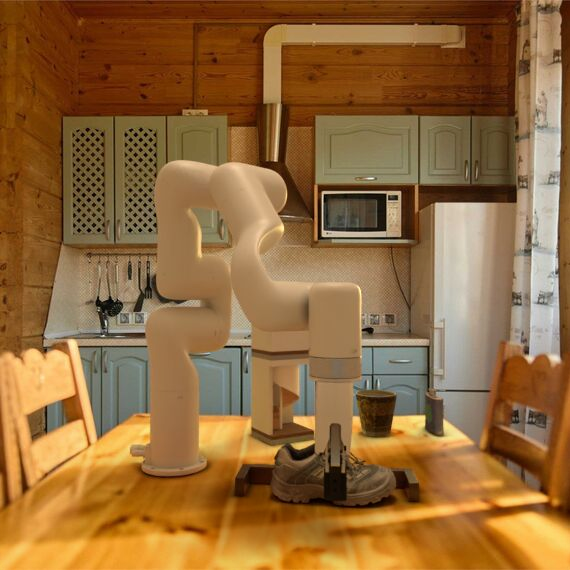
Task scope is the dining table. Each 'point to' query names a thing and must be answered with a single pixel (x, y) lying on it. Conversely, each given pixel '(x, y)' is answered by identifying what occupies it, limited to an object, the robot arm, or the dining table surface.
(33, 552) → the dining table surface
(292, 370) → the cream pedestal stand
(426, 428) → the flask
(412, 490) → the bracket
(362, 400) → the ceramic cup
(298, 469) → the hiking shoe
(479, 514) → the dining table surface
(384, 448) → the dining table surface
